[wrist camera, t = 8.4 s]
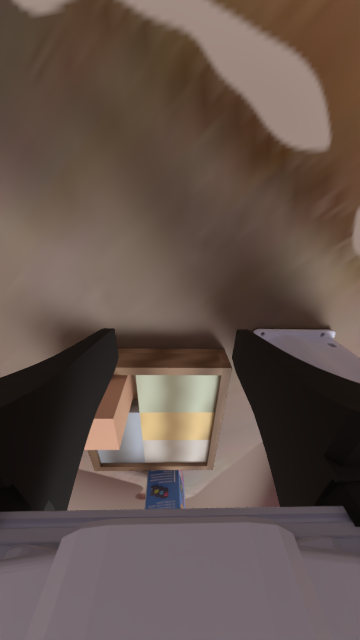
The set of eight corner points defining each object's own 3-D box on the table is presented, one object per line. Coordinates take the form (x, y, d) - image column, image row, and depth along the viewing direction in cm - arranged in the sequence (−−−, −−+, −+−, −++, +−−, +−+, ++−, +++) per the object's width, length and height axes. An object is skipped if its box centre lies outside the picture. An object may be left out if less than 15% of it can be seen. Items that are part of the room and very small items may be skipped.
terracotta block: (131, 365, 22) (113, 418, 16) (133, 392, 24) (119, 449, 18) (92, 364, 22) (59, 418, 16) (98, 392, 24) (71, 450, 18)
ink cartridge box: (185, 480, 36) (191, 618, 23) (158, 482, 37) (148, 621, 24) (180, 451, 32) (182, 602, 19) (148, 454, 32) (130, 605, 19)
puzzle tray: (224, 348, 23) (232, 368, 19) (209, 445, 31) (212, 469, 28) (75, 347, 22) (59, 367, 19) (102, 446, 31) (94, 470, 28)
